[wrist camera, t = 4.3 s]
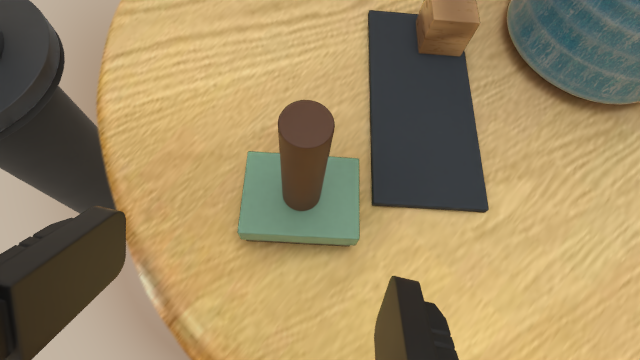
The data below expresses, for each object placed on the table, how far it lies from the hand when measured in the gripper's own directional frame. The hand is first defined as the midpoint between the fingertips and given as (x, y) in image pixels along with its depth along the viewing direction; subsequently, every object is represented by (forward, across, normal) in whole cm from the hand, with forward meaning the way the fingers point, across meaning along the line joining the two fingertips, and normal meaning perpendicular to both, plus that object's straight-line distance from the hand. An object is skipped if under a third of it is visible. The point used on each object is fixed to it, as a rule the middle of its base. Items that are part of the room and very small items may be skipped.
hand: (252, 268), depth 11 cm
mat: (+24, -8, -3) cm, 26 cm away
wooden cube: (+29, -9, -8) cm, 32 cm away
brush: (+16, 0, +6) cm, 17 cm away
